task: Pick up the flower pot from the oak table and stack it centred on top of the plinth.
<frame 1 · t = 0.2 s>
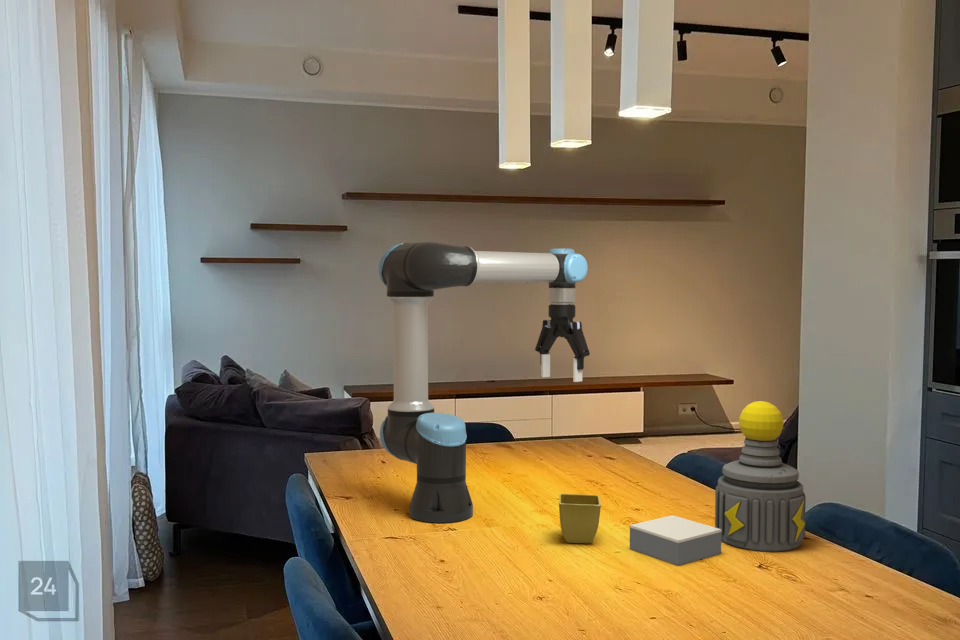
hand: (561, 379, 243), 28 cm above the table, tool pointing down, fingers open, 13 cm apart
decorative lamp: (758, 540, 186), on the table
flower pot: (579, 541, 185), on the table
plinth: (674, 551, 177), on the table
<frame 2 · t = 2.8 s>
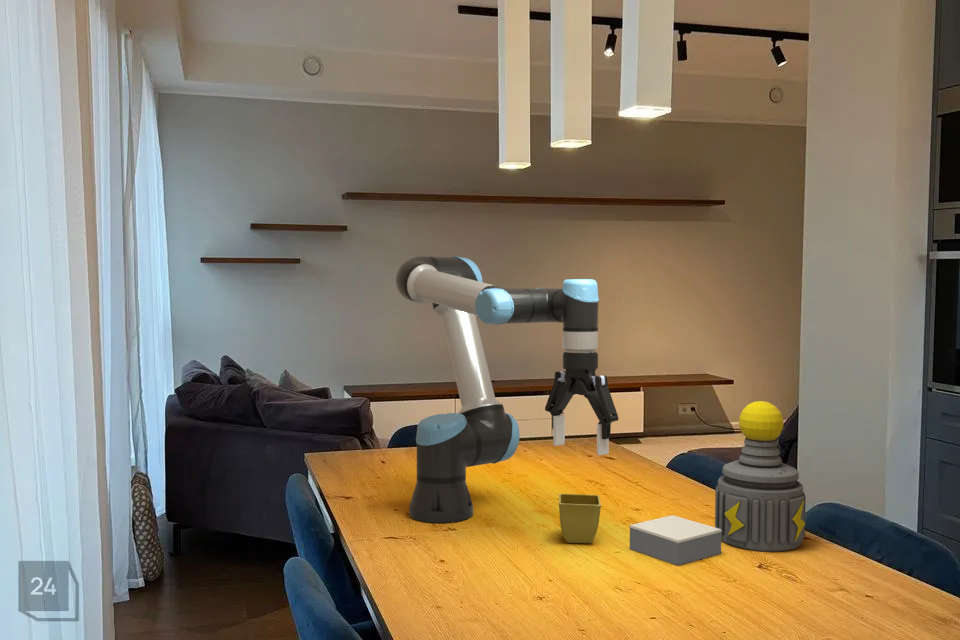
hand: (580, 449, 186), 19 cm above the table, tool pointing down, fingers open, 13 cm apart
nothing on the table moved.
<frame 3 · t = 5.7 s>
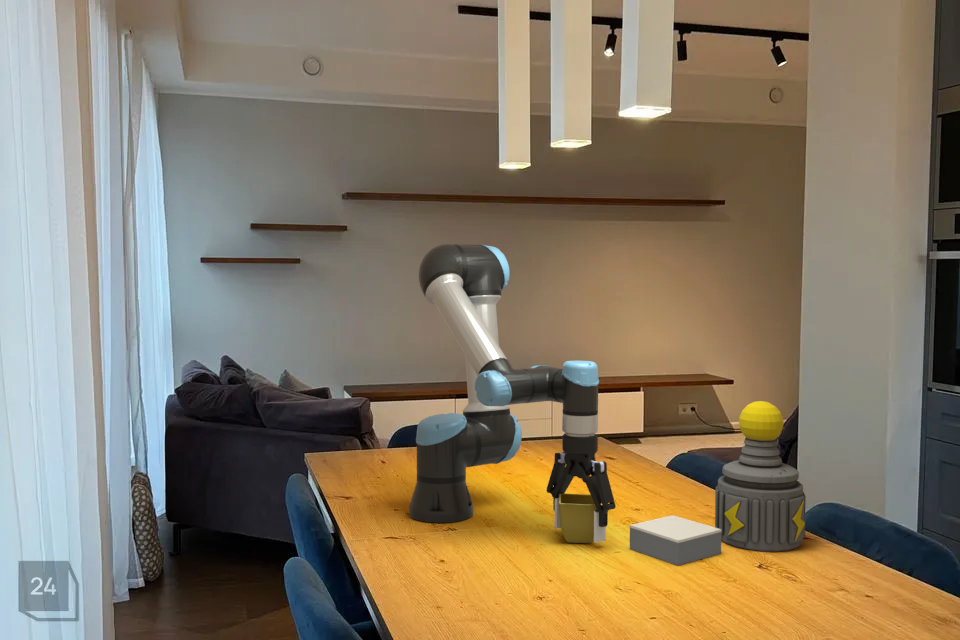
hand: (579, 534, 185), 1 cm above the table, tool pointing down, fingers closed on flower pot, 12 cm apart
flower pot: (579, 541, 185), on the table, touching gripper
everything else where it was.
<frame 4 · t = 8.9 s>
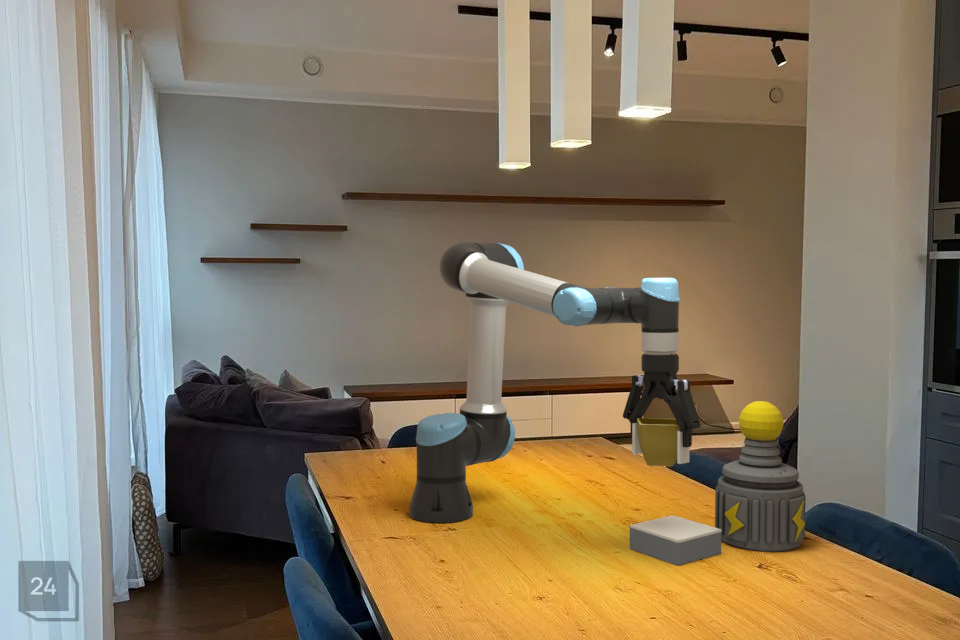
hand: (660, 458, 177), 19 cm above the table, tool pointing down, fingers closed on flower pot, 12 cm apart
flower pot: (659, 465, 177), point 18 cm above the table, touching gripper
everything else where it was.
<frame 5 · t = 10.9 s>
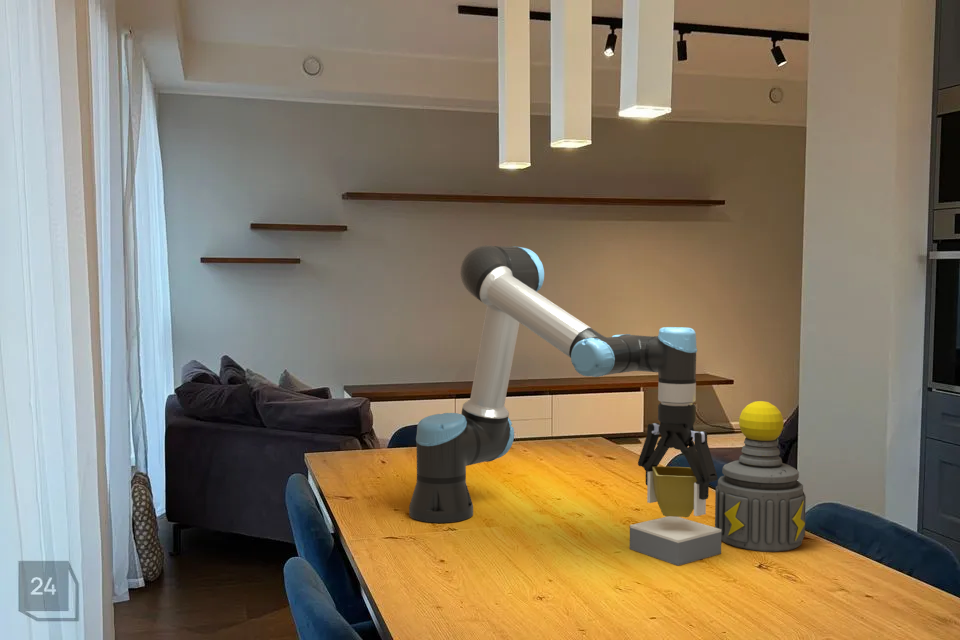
hand: (675, 508, 177), 9 cm above the table, tool pointing down, fingers closed on flower pot, 12 cm apart
flower pot: (675, 515, 177), point 7 cm above the table, touching gripper
everything else where it was.
when the fingers open (8 cm above the table, at t = 12.3 s): flower pot drops 1 cm, resting on plinth.
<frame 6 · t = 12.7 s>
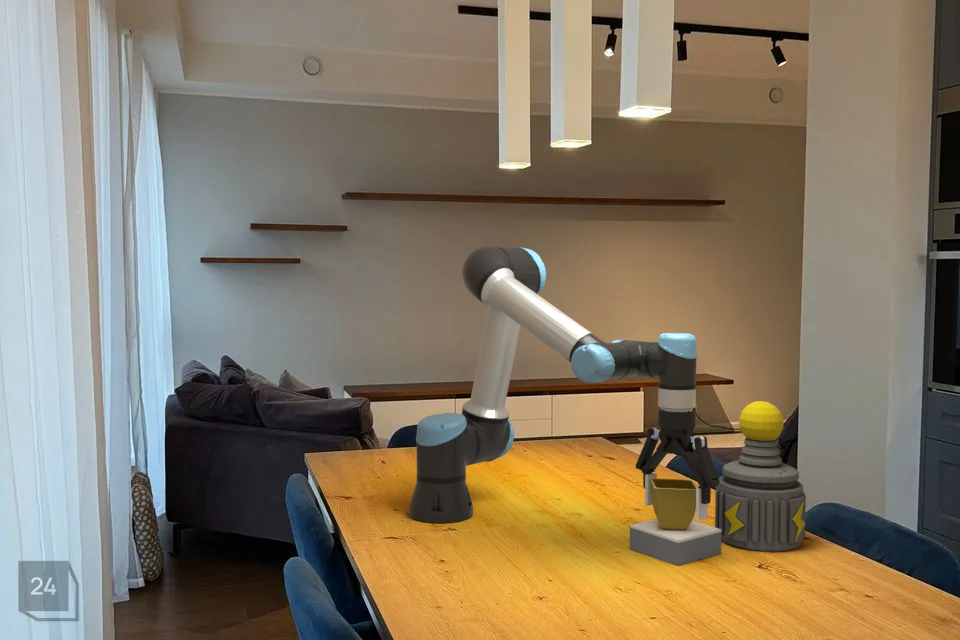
hand: (675, 511, 177), 8 cm above the table, tool pointing down, fingers open, 13 cm apart
flower pot: (673, 527, 178), point 5 cm above the table, touching gripper, plinth
everything else where it was.
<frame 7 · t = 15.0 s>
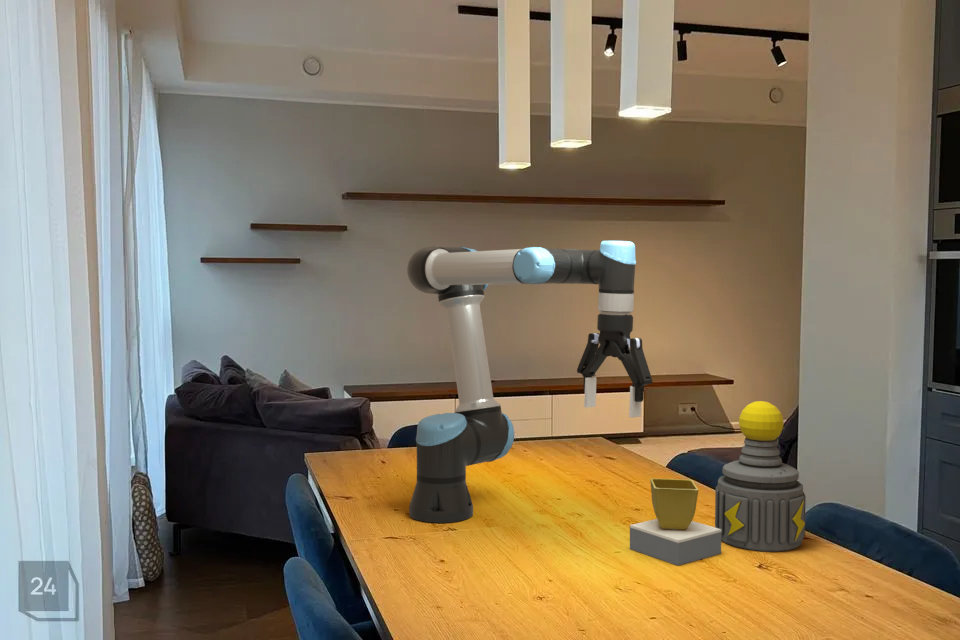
hand: (611, 411, 186), 27 cm above the table, tool pointing down, fingers open, 13 cm apart
flower pot: (673, 527, 178), point 5 cm above the table, touching plinth
everything else where it was.
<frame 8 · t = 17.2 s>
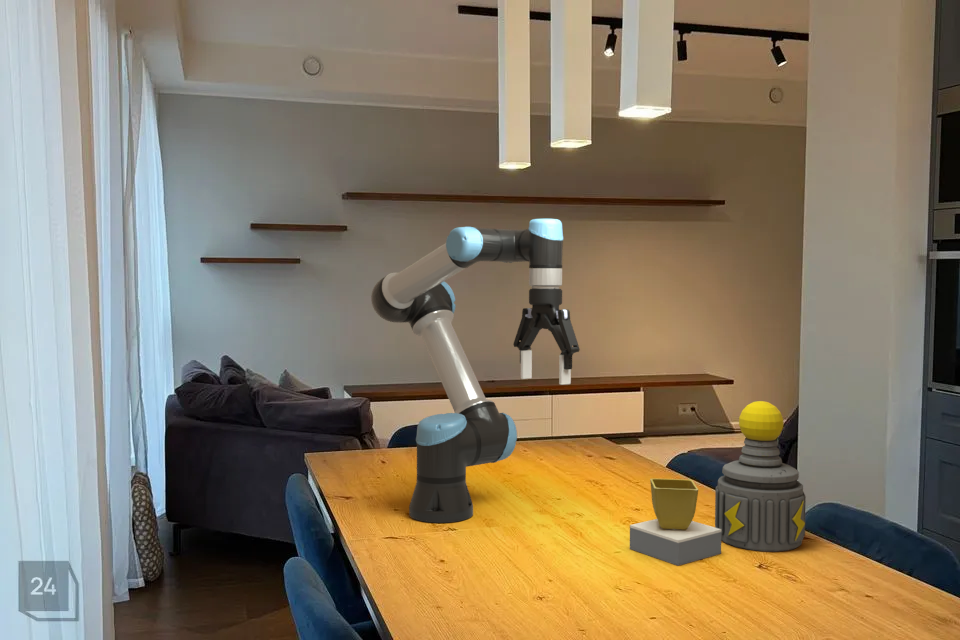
hand: (545, 381, 196), 33 cm above the table, tool pointing down, fingers open, 13 cm apart
nothing on the table moved.
at the end: flower pot inside the target area on the plinth (0.5 cm from its centre), point 4.8 cm above the plinth's base; flower pot tilted 0°; the gripper is holding nothing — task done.
